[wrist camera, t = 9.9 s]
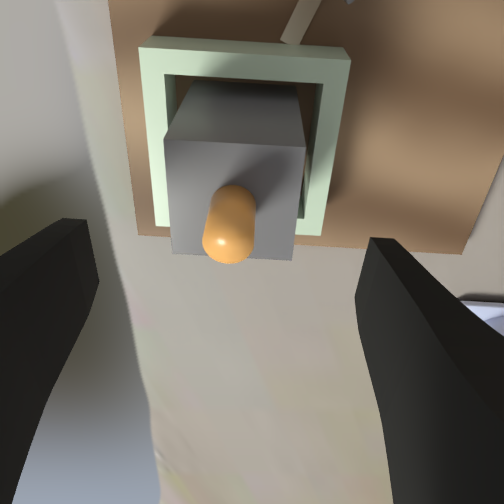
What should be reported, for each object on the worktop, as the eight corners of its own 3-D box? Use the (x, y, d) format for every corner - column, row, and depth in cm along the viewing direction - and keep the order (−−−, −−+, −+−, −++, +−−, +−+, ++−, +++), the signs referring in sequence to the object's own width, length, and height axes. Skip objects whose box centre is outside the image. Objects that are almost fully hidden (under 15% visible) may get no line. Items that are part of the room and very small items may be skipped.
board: (456, 245, 22) (462, 255, 21) (142, 226, 22) (137, 236, 21) (658, -254, 12) (682, -265, 11) (79, -291, 12) (67, -305, 11)
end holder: (316, 211, 20) (320, 235, 19) (164, 202, 20) (155, 226, 19) (343, 47, 16) (351, 60, 14) (151, 35, 16) (138, 47, 14)
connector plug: (286, 178, 19) (294, 301, 13) (196, 173, 19) (160, 294, 13) (295, 85, 17) (311, 180, 11) (193, 79, 17) (146, 171, 11)
